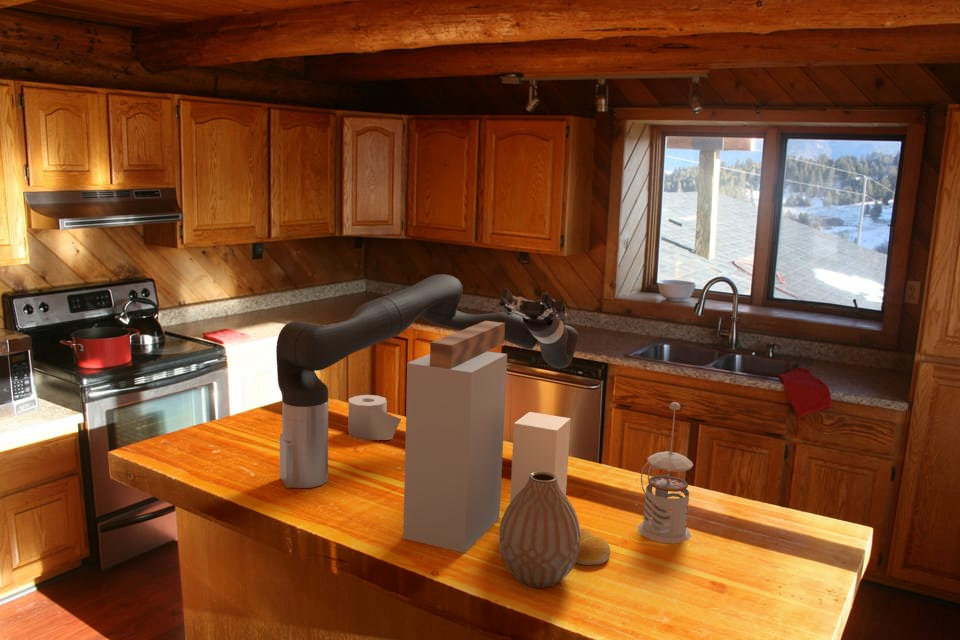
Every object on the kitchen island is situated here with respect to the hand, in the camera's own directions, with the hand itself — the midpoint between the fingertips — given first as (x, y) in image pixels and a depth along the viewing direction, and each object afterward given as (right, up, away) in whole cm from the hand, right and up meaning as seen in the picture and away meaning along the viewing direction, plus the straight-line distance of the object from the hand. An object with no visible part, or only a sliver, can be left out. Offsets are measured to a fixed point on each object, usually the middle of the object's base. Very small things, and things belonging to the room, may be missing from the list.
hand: (524, 294), depth 169 cm
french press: (+25, -45, -16) cm, 54 cm away
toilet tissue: (-36, -34, +30) cm, 58 cm away
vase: (0, -47, -36) cm, 60 cm away
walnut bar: (-11, -11, -21) cm, 26 cm away
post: (+1, -44, -19) cm, 48 cm away
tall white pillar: (-14, -43, -19) cm, 50 cm away
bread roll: (+9, -46, -27) cm, 54 cm away
